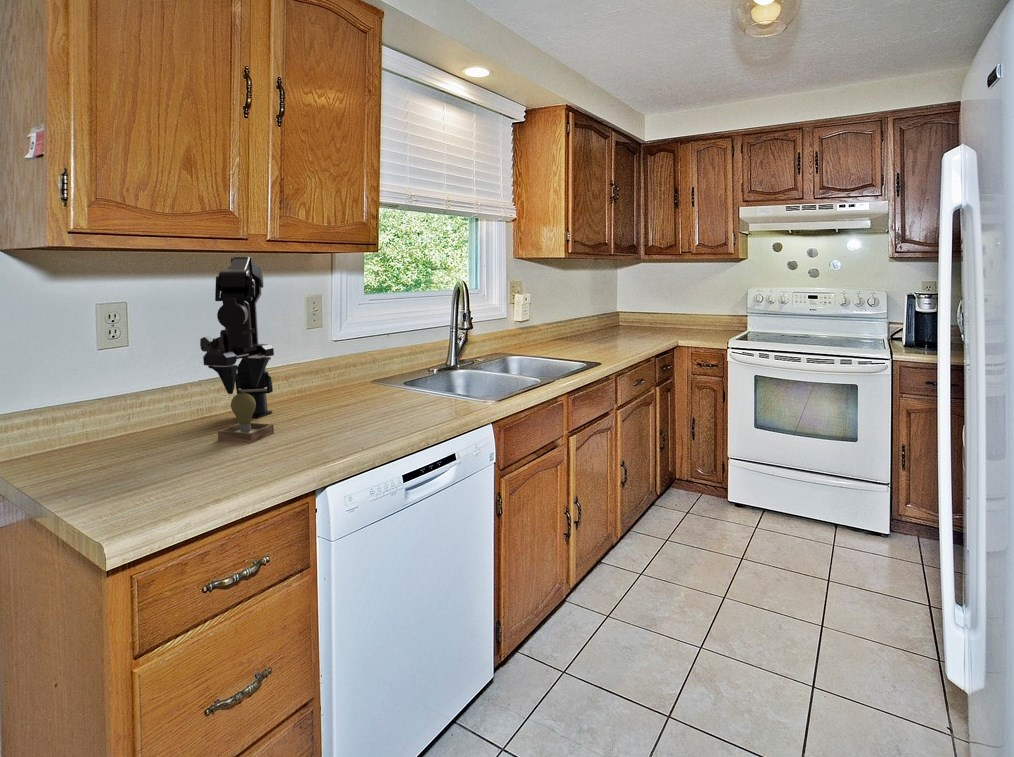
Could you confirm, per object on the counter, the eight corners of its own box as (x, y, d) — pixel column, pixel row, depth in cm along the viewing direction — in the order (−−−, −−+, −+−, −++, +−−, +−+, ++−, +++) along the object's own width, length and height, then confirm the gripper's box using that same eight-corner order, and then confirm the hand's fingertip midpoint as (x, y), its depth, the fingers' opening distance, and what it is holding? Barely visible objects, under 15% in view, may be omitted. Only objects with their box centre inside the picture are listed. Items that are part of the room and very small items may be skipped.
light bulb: (234, 431, 156) (230, 391, 154) (258, 429, 158) (255, 390, 156) (232, 437, 151) (228, 395, 149) (257, 435, 152) (254, 394, 151)
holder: (242, 431, 160) (241, 422, 159) (274, 433, 158) (273, 424, 157) (218, 440, 151) (217, 431, 151) (251, 443, 149) (250, 433, 149)
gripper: (234, 321, 160) (238, 382, 163) (179, 328, 142) (186, 396, 145) (273, 321, 158) (277, 383, 160) (222, 329, 140) (228, 398, 142)
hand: (242, 390), depth 152 cm, fingers open, 9 cm apart
